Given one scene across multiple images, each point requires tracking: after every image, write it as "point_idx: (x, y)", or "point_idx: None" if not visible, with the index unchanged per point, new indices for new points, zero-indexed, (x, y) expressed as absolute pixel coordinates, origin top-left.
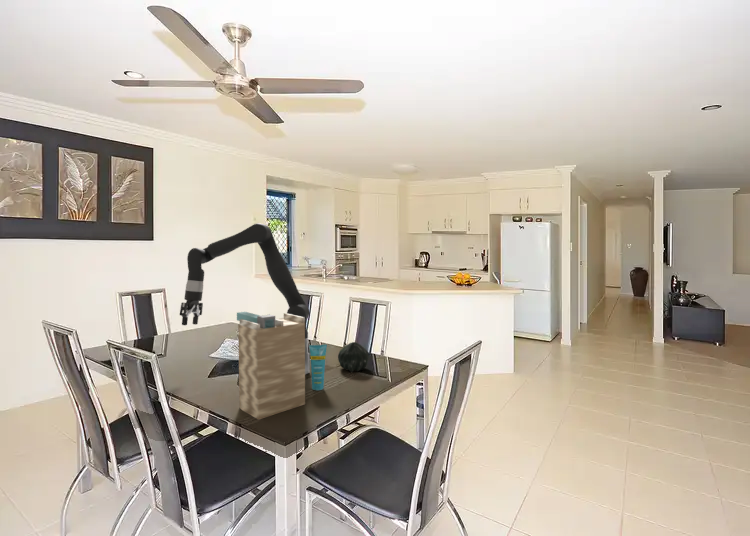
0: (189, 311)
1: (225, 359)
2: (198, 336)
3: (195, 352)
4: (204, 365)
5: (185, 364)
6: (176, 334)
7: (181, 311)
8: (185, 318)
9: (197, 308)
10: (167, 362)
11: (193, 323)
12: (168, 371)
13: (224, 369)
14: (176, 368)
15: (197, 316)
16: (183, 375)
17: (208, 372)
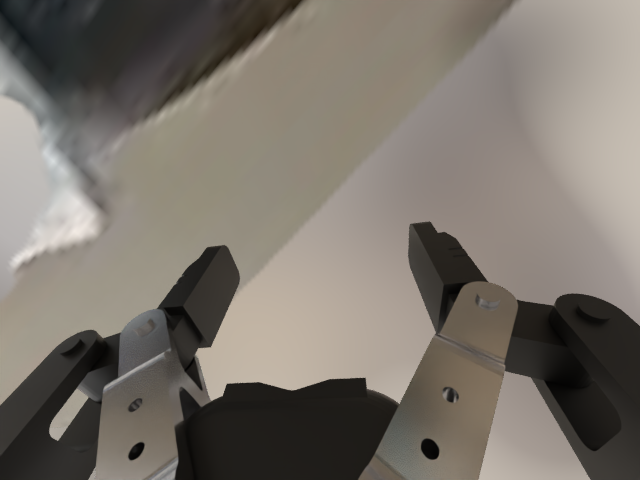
0: (501, 379)
1: (68, 132)
2: (16, 386)
3: (118, 291)
4: (193, 156)
5: (227, 226)
6: (67, 418)
7: (611, 419)
8: (477, 278)
9: (150, 474)
10: (243, 280)
11: (235, 275)
12: (306, 217)
13: (171, 2)
14: (273, 219)
15: (170, 319)
16: (323, 138)
17: (251, 59)
